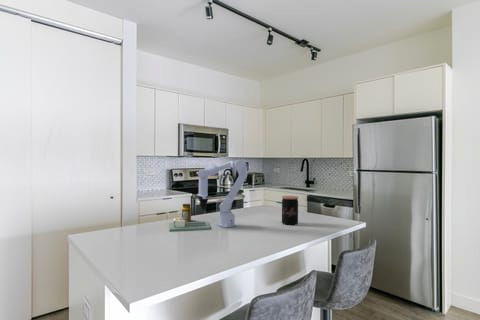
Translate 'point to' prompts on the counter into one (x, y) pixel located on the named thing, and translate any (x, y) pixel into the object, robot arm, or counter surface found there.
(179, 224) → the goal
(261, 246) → the counter surface
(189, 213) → the condiment
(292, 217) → the coffee jar
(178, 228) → the pitch
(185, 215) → the grey and tan mallet
